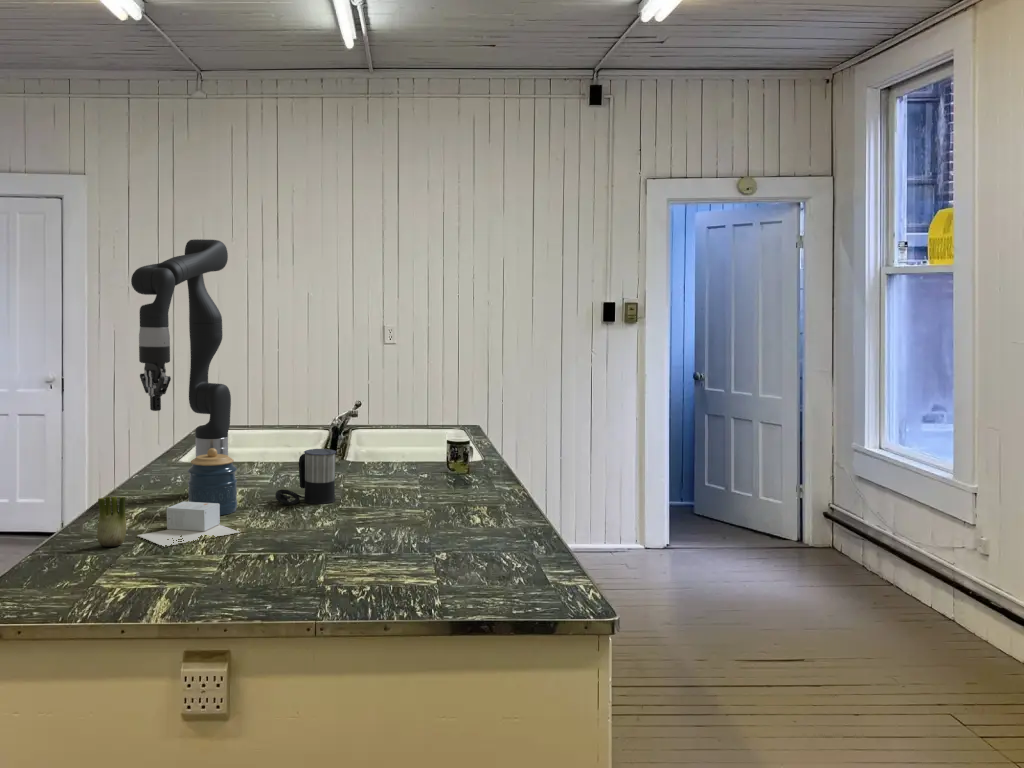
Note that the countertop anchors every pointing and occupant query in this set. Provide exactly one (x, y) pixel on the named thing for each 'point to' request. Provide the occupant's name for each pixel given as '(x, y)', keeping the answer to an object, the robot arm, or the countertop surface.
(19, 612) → the countertop surface
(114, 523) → the fennel bulb
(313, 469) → the milk frother
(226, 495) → the canister
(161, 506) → the countertop surface
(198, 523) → the small box
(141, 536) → the mat
